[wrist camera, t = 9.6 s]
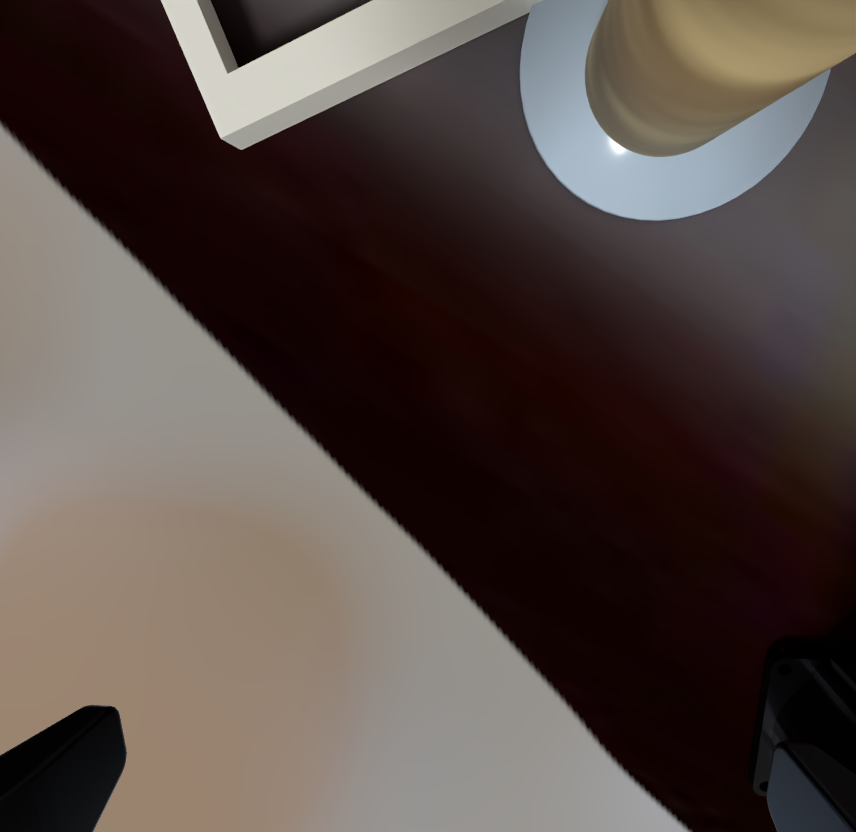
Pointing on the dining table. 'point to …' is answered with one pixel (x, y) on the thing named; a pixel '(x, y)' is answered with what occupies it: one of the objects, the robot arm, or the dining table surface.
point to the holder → (323, 58)
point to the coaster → (620, 168)
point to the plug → (705, 64)
